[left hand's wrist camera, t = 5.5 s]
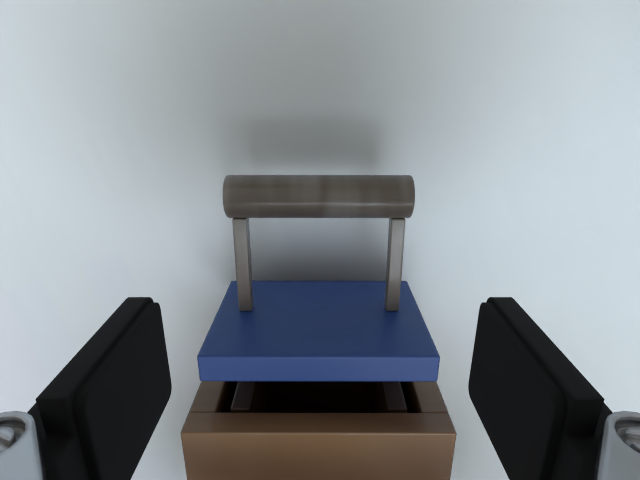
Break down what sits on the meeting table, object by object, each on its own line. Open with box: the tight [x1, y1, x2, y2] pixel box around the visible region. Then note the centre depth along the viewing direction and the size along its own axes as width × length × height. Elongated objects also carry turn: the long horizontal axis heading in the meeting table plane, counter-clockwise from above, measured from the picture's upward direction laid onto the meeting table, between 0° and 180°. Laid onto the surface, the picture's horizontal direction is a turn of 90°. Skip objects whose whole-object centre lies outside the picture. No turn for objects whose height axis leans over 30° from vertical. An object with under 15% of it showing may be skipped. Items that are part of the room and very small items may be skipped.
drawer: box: [197, 175, 440, 413], centre depth 21 cm, size 20×9×7 cm, turn 0°
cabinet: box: [181, 381, 456, 480], centre depth 23 cm, size 15×10×9 cm
